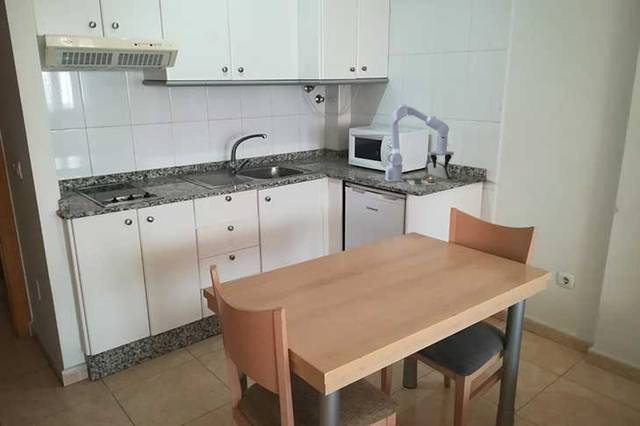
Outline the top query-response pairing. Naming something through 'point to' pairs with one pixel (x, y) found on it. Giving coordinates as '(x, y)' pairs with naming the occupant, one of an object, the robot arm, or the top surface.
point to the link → (428, 179)
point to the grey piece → (439, 170)
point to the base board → (423, 183)
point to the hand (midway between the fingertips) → (440, 167)
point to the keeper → (417, 180)
